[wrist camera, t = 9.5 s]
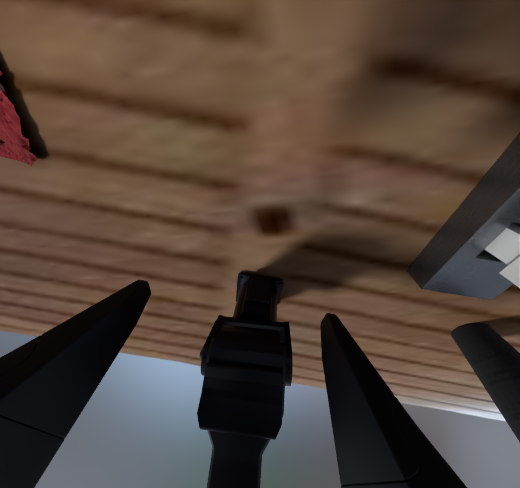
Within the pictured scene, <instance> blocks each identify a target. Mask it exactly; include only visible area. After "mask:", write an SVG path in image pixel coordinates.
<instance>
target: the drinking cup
mask: <svg viewBox="0 0 520 488" xmlns="http://www.w3.org/2000/svg"><path fill="white" fill-rule="evenodd" d="M451 336H452V337H453V339H454V340H455V342H456V344H457V345H458V347H459V348H460V350H461V351H462V353H463V354H464V356H465V358H466V359H467V361H468V362H469V364H470V365H471V367H472V368H473V370H474V372H475V373H476V375H477V376H478V378H479V379H480V381H481V383H482V384H483V386H484V387H485V389H486V390H487V392H488V393H489V395H490V397H491V398H492V400H493V401H494V403H495V404H496V406H497V407H498V409H499V411H500V412H501V414H502V415H503V417H504V418H505V420H506V421H507V423H508V425H509V426H510V428H511V429H512V431H513V432H514V434H515V435H516V437H517V439H518V440H519V442H520V353H519V352H518V351H517V350H516V349H515V348H513V347H512V346H511V345H510V344H509V343H508V342H507V341H506V340H504V339H503V338H502V337H501V336H500V335H499V334H498V333H496V332H495V331H494V330H493V329H492V328H491V327H490V326H488V325H487V324H483V323H471V324H466V325H463V326H460V327H458V328H456V329H455V330H453V331H452V333H451Z"/></svg>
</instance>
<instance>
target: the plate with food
mask: <svg viewBox="0 0 520 488" xmlns="http://www.w3.org/2000/svg"><path fill="white" fill-rule="evenodd" d="M1 75H2V73H1V71H0V76H1ZM0 138H1V140H2V141H4V142H5V143H4V142H0V156H2V157H5V158H9V159H14V160H18V161H22V162H25V163H27V164H30V165H31V166H32V164H33V162H34V161H35V160H36V159H37V158H36V156H34V154H33V153H31V152H29V150H31V146H30V144H29V138H26V137H24V136H23V135H22V133H21V127H20V118H19V116H18V115H17V113H16V111H15V109H14V105H13V104H12V103H11V102H10V101H9V100H8V98H7V94H6V92H5V90H4V87H3V85H2V84H1V83H0Z"/></svg>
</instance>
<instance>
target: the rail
mask: <svg viewBox="0 0 520 488" xmlns="http://www.w3.org/2000/svg"><path fill="white" fill-rule="evenodd" d="M512 223H515V224H517V225H519V226H520V133H519V135H518V136H517V137H516V138H515V139H514V141H513V142H512V143H511V144H510V146H509V147H508V148H507V149H506V150H505V152H504V153H503V154H502V155H501V156H500V158H499V159H498V160H497V161H496V162H495V164H494V165H493V166H492V167H491V169H490V170H489V171H488V172H487V173H486V175H485V176H484V177H483V178H482V179H481V181H480V182H479V183H478V184H477V186H476V187H475V188H474V189H473V190H472V192H471V193H470V194H469V195H468V196H467V198H466V199H465V200H464V201H463V202H462V204H461V205H460V206H459V207H458V209H457V210H456V211H455V212H454V213H453V215H452V216H451V217H450V218H449V219H448V221H447V222H446V223H445V224H444V226H443V227H442V228H441V229H440V230H439V232H438V233H437V234H436V235H435V236H434V238H433V239H432V240H431V241H430V243H429V244H428V245H427V246H426V247H425V249H424V250H423V251H422V252H421V253H420V255H419V256H418V257H417V258H416V259H415V261H414V262H413V263H412V264H411V266H410V267H409V268H408V269H407V272H408V273H409V274H410V275H411V277H412V278H413V279H414V280H415V282H416V283H417V284H418V285H419V287H420V288H421V289H426V290H432V291H438V292H445V293H451V294H458V295H464V296H470V297H477V298H483V299H489V300H492V299H493V298H495V297H496V296H498V295H499V294H500V293H502V292H503V291H505V290H506V289H507V288H509V287H510V286H511V285H513V283H512V282H511V281H509V280H508V279H507V278H505V277H504V276H502V275H501V274H500V273H499V272H501V271H502V270H503V269H504V268H506V267H507V266H508V265H507V264H506V263H504V262H503V261H501V260H500V259H498V258H497V257H495V256H494V255H492V254H491V253H489V252H488V251H486V250H485V248H486V247H487V246H488V245H489V244H490V243H491V242H492V241H493V240H495V239H496V238H497V237H498V236H499V235H500V234H501V233H502V232H503V231H504V230H505V229H506V228H507V227H508V226H510V225H511V224H512Z"/></svg>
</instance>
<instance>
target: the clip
mask: <svg viewBox="0 0 520 488" xmlns="http://www.w3.org/2000/svg"><path fill="white" fill-rule="evenodd" d="M485 250H486V251H488V252H489V253H491V254H492V255H494V256H495V257H497V258H498V259H500V260H501V261H503V262H504V263H506V264H507V265H508V266H507V267H506V268H504V269H503V270H502V271H501V272H499V273H500V274H501V275H502V276H504V277H505V278H507V279H508V280H509V281H511V282H512V283H513V284H515V285H516V286H518V287H519V288H520V226H519V225H517V224H515V223H512V224H511V225H510V226H508V227H507V228H506V229H505V230H504V231H503V232H502V233H501V234H500V235H499V236H498V237H497V238H496V239H495V240H493V241H492V242H491V243H490V244H489V245H488V246H487V247H486V248H485Z"/></svg>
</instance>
